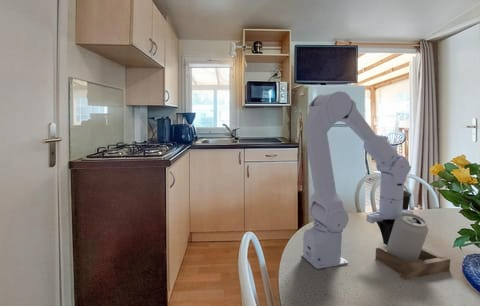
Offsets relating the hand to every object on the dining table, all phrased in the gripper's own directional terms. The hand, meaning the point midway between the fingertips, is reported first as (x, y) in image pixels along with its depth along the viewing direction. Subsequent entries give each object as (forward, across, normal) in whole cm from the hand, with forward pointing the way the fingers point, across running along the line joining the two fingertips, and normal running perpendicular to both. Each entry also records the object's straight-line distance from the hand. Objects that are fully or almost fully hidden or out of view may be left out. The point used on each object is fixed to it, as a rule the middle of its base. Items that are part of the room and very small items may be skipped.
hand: (388, 244), depth 80 cm
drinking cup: (+3, -15, -12) cm, 19 cm away
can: (+2, 0, +4) cm, 5 cm away
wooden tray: (+2, 0, +6) cm, 7 cm away
